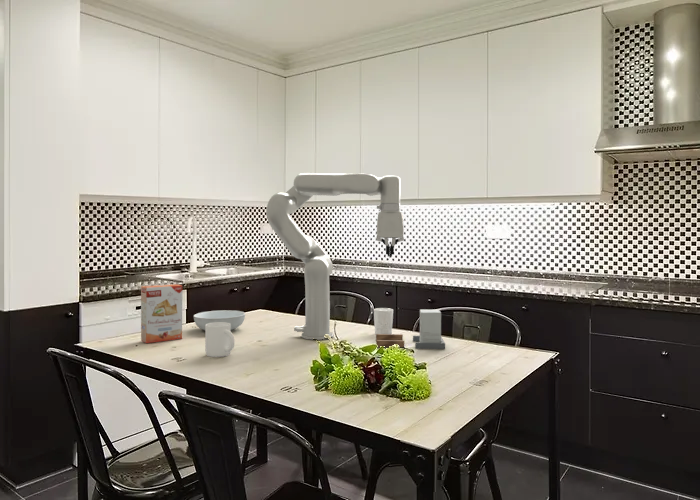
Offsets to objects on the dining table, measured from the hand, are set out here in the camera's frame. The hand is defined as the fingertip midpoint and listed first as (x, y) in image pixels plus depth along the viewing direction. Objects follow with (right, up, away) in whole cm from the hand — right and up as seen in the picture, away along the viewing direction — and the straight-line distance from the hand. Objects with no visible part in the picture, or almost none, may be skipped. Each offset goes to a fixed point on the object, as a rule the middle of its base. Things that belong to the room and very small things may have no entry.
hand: (389, 256), depth 207 cm
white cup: (-2, -32, +11) cm, 34 cm away
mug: (-58, -33, -26) cm, 72 cm away
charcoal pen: (+13, -33, -8) cm, 36 cm away
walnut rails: (-1, -33, -8) cm, 33 cm away
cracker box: (-86, -32, -3) cm, 92 cm away
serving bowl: (-70, -31, +17) cm, 78 cm away
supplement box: (+14, -33, -8) cm, 37 cm away
